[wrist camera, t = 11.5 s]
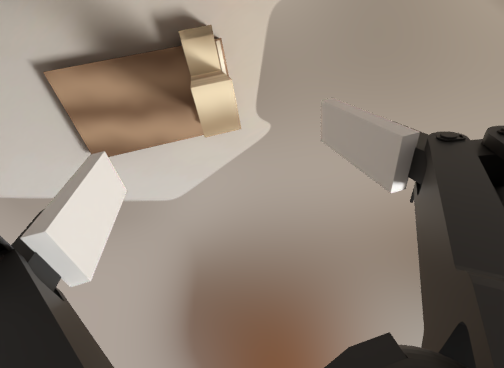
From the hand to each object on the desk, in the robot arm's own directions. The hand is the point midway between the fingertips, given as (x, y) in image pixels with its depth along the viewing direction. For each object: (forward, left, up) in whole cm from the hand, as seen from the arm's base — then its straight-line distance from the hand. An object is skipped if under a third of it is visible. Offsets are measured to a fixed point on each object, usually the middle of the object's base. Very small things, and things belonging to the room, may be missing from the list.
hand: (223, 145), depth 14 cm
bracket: (-1, +1, -24) cm, 24 cm away
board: (0, -7, -24) cm, 25 cm away
